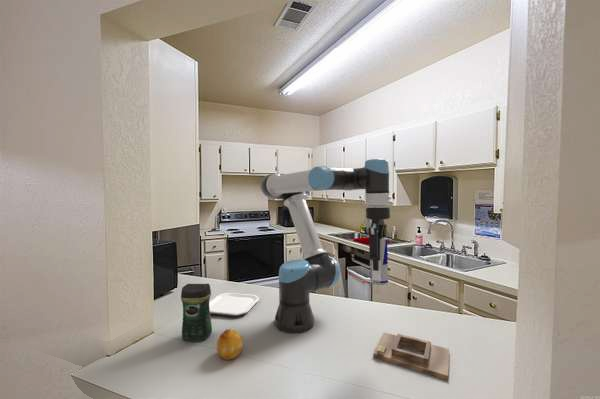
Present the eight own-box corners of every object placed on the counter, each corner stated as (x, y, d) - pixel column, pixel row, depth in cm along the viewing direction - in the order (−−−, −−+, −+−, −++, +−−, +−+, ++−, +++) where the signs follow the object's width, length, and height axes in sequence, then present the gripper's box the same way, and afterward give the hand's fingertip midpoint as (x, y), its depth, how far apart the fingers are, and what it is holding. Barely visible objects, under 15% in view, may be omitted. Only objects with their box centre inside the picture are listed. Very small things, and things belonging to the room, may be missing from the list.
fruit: (207, 347, 82) (217, 329, 80) (228, 338, 89) (237, 320, 87) (221, 370, 78) (232, 351, 76) (242, 358, 85) (252, 340, 83)
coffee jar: (214, 330, 97) (213, 280, 97) (206, 342, 89) (205, 288, 89) (188, 330, 98) (187, 280, 97) (178, 342, 90) (177, 288, 89)
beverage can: (389, 286, 83) (388, 238, 83) (370, 285, 84) (369, 238, 84) (387, 280, 89) (386, 236, 89) (369, 280, 90) (368, 236, 90)
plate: (197, 315, 110) (197, 310, 110) (222, 296, 130) (222, 291, 130) (243, 320, 105) (243, 315, 105) (262, 299, 126) (262, 295, 125)
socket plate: (373, 357, 81) (373, 347, 81) (383, 335, 93) (383, 327, 93) (448, 380, 71) (448, 369, 71) (449, 352, 83) (449, 343, 83)
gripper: (382, 208, 77) (384, 287, 77) (395, 205, 92) (396, 272, 93) (357, 208, 81) (359, 284, 81) (373, 205, 96) (375, 269, 96)
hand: (379, 277), depth 87 cm, fingers closed on beverage can, 5 cm apart
